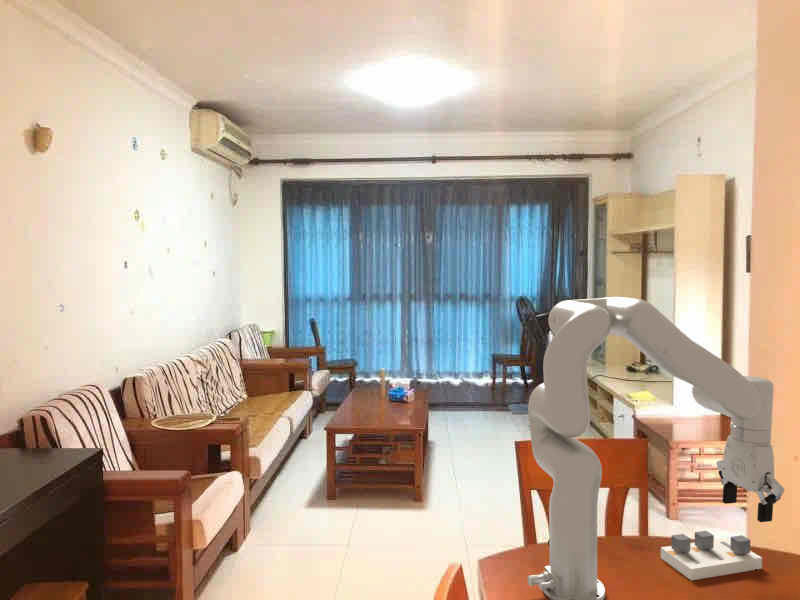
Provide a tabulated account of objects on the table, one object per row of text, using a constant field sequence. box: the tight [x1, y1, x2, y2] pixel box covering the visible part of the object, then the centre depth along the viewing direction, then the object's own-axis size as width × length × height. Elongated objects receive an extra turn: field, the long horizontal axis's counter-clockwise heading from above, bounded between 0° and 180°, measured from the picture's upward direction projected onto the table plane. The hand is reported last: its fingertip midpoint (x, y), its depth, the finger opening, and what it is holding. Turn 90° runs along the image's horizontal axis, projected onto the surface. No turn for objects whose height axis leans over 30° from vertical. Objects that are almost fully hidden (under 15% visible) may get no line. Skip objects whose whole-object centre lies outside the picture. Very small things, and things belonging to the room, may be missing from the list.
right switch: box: [730, 534, 751, 555], centre depth 135 cm, size 3×2×3 cm
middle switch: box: [694, 530, 715, 550], centre depth 137 cm, size 3×2×3 cm
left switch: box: [670, 533, 691, 553], centre depth 136 cm, size 3×2×3 cm
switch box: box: [660, 537, 763, 581], centre depth 136 cm, size 18×10×3 cm, turn 103°
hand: (746, 511), depth 132 cm, fingers open, 9 cm apart
